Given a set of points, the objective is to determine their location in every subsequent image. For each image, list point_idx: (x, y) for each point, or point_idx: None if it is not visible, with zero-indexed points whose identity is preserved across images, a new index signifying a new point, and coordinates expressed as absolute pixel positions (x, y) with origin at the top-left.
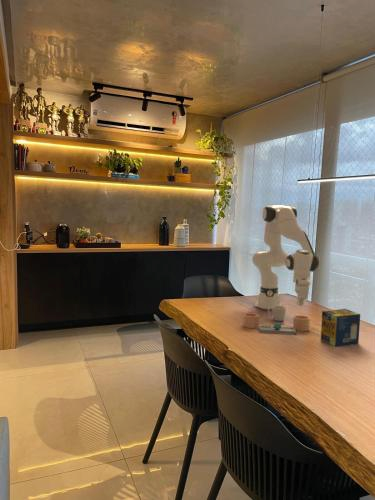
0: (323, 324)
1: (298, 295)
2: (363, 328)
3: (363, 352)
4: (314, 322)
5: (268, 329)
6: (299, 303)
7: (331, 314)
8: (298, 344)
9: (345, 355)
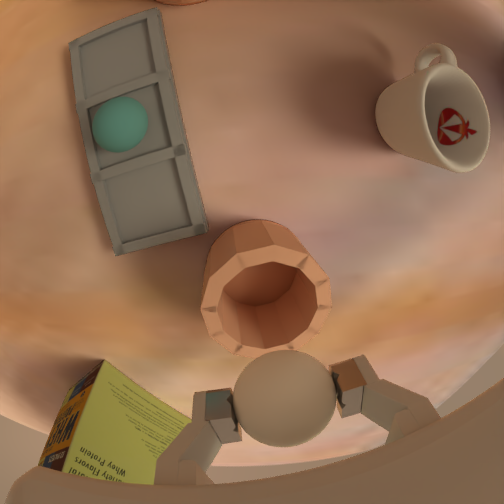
0: (72, 422)
1: (158, 501)
2: (339, 447)
3: None
4: (397, 318)
5: (106, 75)
6: (206, 399)
7: None
8: (4, 272)
9: (28, 398)
